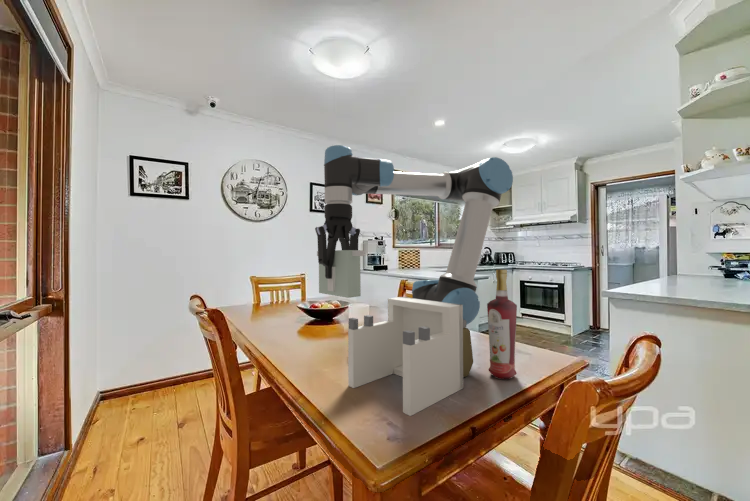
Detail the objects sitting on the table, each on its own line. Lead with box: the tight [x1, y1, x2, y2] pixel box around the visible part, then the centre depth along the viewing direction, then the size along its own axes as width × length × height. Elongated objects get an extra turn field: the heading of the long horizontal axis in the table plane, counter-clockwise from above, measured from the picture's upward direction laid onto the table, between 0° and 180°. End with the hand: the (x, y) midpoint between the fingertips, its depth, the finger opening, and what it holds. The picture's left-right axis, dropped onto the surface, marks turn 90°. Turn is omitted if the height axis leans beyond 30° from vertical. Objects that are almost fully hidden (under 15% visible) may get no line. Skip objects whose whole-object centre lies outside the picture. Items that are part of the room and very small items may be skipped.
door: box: [316, 249, 365, 299], centre depth 87 cm, size 4×20×12 cm, turn 41°
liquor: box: [486, 269, 518, 380], centre depth 84 cm, size 7×7×28 cm
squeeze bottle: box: [463, 320, 474, 378], centre depth 86 cm, size 8×8×18 cm
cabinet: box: [347, 296, 464, 417], centre depth 77 cm, size 19×20×20 cm
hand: (338, 290), depth 87 cm, fingers closed on door, 4 cm apart
